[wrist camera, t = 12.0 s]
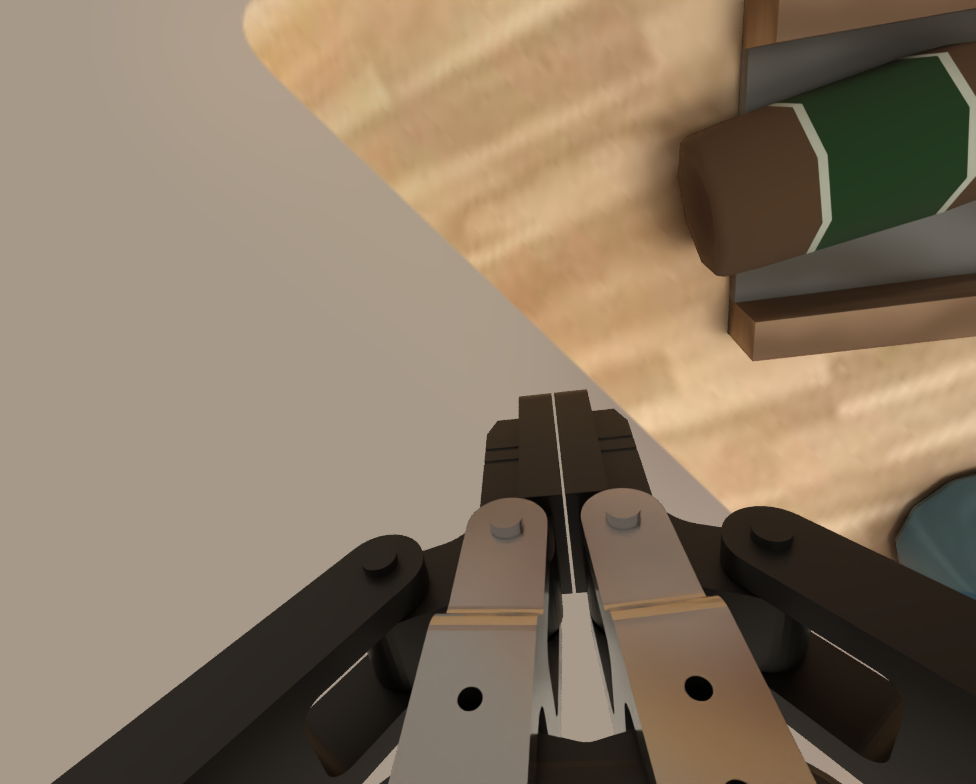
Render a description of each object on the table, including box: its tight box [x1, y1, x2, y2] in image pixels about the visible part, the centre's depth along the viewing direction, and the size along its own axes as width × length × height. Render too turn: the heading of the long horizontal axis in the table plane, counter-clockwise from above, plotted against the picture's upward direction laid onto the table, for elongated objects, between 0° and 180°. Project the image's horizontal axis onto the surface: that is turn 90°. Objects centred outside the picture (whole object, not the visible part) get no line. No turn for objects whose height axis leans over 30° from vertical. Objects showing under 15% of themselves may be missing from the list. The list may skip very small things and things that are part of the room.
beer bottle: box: [678, 41, 976, 277], centre depth 27 cm, size 8×8×24 cm
